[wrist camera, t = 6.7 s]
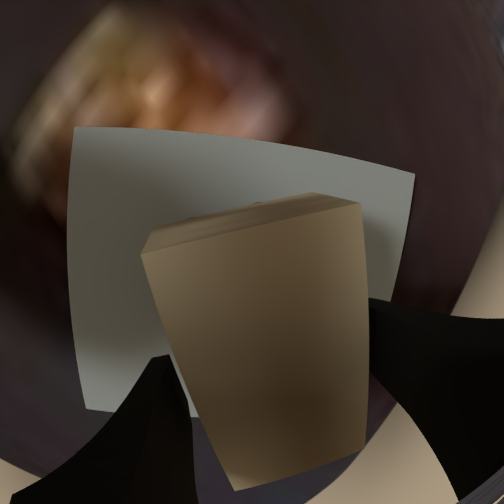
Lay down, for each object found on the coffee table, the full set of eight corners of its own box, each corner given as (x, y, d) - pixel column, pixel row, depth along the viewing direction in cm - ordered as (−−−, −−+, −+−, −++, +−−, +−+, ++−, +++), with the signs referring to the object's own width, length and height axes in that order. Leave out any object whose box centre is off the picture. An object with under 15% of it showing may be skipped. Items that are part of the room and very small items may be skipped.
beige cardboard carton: (213, 387, 15) (234, 491, 9) (161, 212, 12) (140, 253, 6) (306, 361, 16) (364, 448, 10) (280, 185, 13) (360, 202, 7)
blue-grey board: (88, 399, 15) (86, 408, 14) (80, 128, 12) (74, 126, 11) (351, 396, 18) (357, 404, 18) (405, 173, 15) (415, 174, 14)
